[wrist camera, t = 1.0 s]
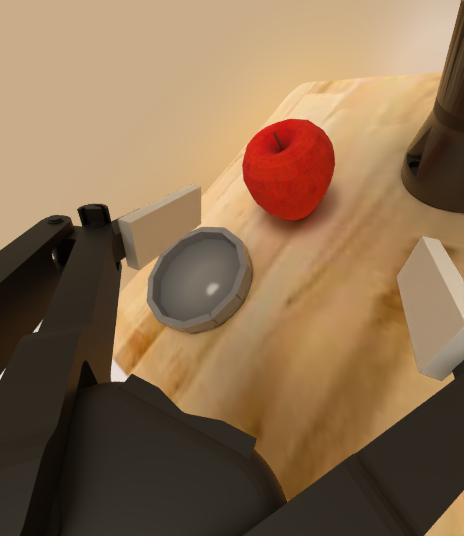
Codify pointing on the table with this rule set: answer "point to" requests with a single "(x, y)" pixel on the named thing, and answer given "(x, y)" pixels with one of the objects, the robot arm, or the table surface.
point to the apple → (289, 168)
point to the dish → (200, 280)
